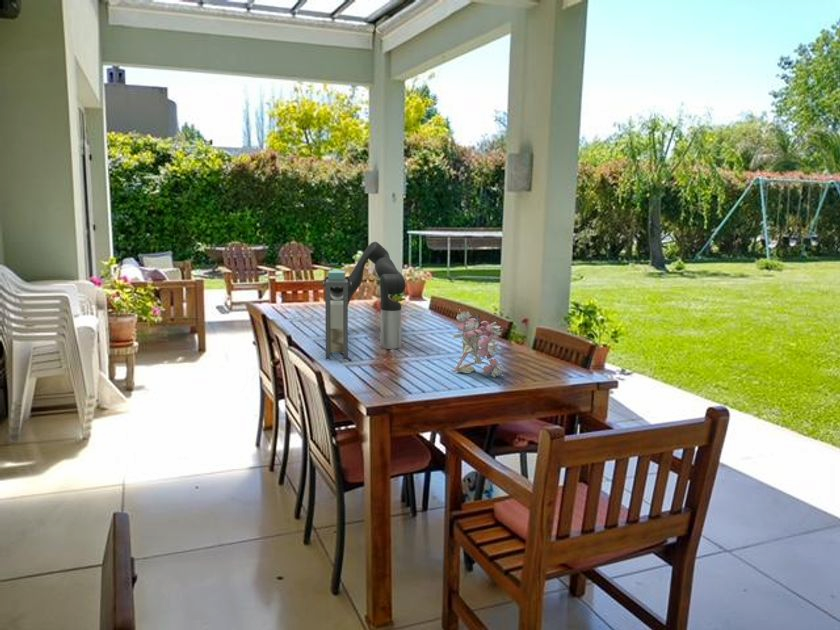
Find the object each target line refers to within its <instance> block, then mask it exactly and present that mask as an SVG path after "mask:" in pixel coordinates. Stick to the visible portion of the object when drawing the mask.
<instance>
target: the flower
mask: <svg viewBox="0 0 840 630" xmlns="http://www.w3.org/2000/svg"><path fill="white" fill-rule="evenodd" d="M458 310H459V313H457V314H456V315H457V316H455V317H456V320H457V322H459V324H458V325H457V331H459V332H463V331H465V327H466V329H467V330H469V331H468V332H466V333H465V334H463V333H462V334H461V333H458V334H454V335H453V337H452V339H451V340H454V339H459V338H462V340H461V342H460V343H461V344H463V343H465V344H466V346H465V348H464V351H463V350H462V353H461V355H462V356H461V358H460V359H459V362H458V363H457V364H456V366H455V368H454V369H453V370H451V371H450V372H451V373H452V372H453V373H457V372H459V373H460V372H461V373H464V374H466V373H469V374H471V373H473V371H476V368H475V367H474V366H473V365H475V364H477V365H482V364H486V365H484V366H483V368H482V369H483V374H485V375H488V374H491V377H493V378H496V376H497V377H498V375H501V376H502V377H503V376H504V374H502V373H503V369H504V366H503V365H501V364H500V365H499V363H498V359H497V358H496V357H495V358H494V356H495V354H494V353H497V354H498V351H497V350H501V348H500V347H499V346H500V344H499V343H498V341H497V340H495V339H498V338H499V336H501V334H502V330H503V328H502V329H501V326H500V325H497V322H496V321H494V322H492V323H489V321H487V320H483V321H480V328H479V329H478V330H477V327H478V325H479V323H478V322H477V321H476V319H475V318H470V319H469V317H470V314H471V313H470V312H469V310H467V311H465V310H464V311H461V309H460V308H459V309H458ZM475 333H477V335H475V336H474V334H475ZM467 336H468V337H469V339H468V337H467ZM481 337H482V338H483V339H482V338H481ZM463 338H464V339H465V340H466V341H464V340H463ZM476 341H478V345H477V346H479V349H478V351H477V353H475V352H473V353H469V352H470V351H474V350H473V348H475V347H477V346H474V347H473V348H472V346H473V344H474V342H476ZM471 342H473V343H472V345H471ZM468 355H469V356H473V357H475V358H473V362H471V363H465V362H464V361H465V359H466V357H467V356H468ZM481 357H482V358H481ZM485 357H486V359H487V360H488V362H489V363H488V362H485V361H482V360H484V359H485ZM463 362H464V363H463Z"/></svg>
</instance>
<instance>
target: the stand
mask: <svg viewBox="0 0 840 630" xmlns="http://www.w3.org/2000/svg"><path fill="white" fill-rule="evenodd" d="M324 287H325V289H324V290H325V294H324V295H325V297H324V298H325V301H324V302H325V360H326V359H330V360H331V354H332V353H331V308H330V287H343V352H342V353H343V354H342V355H343V357H342V358H343V359H346V360H349V359H348V357H349V353H348V352H349V347H348V346H349V345H348V344H349V328H348V327H349V326H348V325H349V324H348V323H349V317H348V316H349V308H348V307H349V304H348V279H326V282H325V286H324Z"/></svg>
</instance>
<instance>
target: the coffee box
mask: <svg viewBox="0 0 840 630" xmlns="http://www.w3.org/2000/svg"><path fill="white" fill-rule="evenodd" d="M469 314H470V317H469V319H470V318H475V319H476V321H477V322H478V323H479V325H478V327H477V330H478V329H479V328H480V327H481V324H480V323H481V321H480V320H481V314H472V313H469ZM468 331H469V330H467V329H466V327H465V331H462V334H465V333H466V332H468ZM475 335H477V333H475V334H474V336H475ZM467 337H468V336H467ZM468 339H469V337H468ZM462 340H464V341H466V340H465V339H464V338H463V337H462ZM472 343H473V342H471V345H472ZM477 345H478V341H476V342H474V344H473V346H472V348H473V347H474V346H477ZM465 346H466V344H465V343H462V352H463V351H464V348H465ZM478 349H480V347H479V346H477V347H475V348H473V350H474V351H470V352H469V353H468V354H472V353H473V352H475V353H476V354H478V353H477V351H478Z"/></svg>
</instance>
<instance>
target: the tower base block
mask: <svg viewBox="0 0 840 630" xmlns="http://www.w3.org/2000/svg"><path fill="white" fill-rule="evenodd" d="M331 352H333V353H343V329H331Z"/></svg>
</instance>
